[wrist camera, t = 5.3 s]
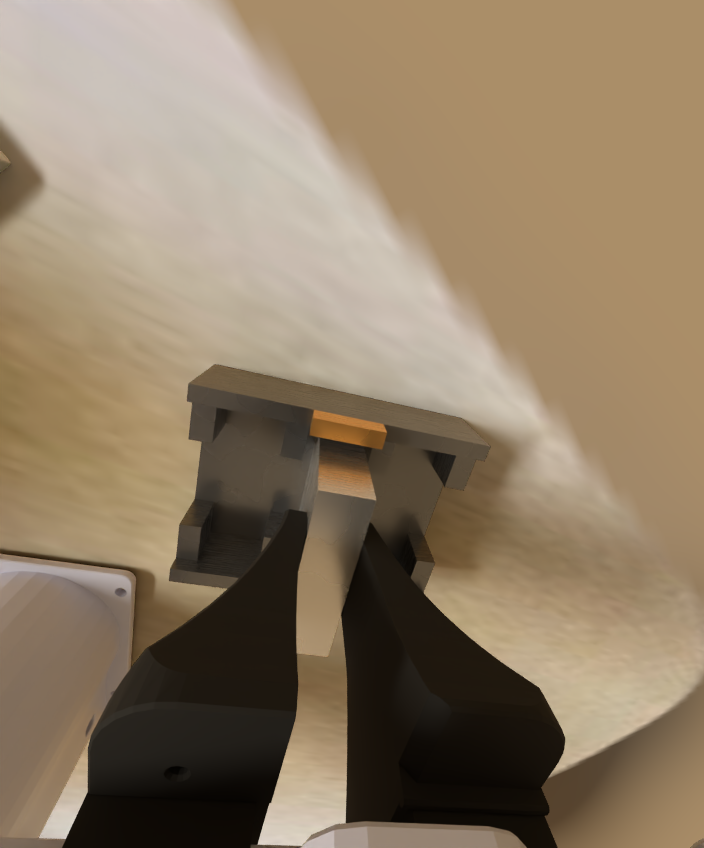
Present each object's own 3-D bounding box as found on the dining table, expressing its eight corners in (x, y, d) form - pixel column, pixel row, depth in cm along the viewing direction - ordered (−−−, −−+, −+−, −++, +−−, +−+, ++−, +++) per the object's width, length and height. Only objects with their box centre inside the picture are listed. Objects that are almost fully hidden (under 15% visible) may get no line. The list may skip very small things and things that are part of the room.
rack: (407, 564, 19) (427, 630, 15) (194, 532, 17) (160, 597, 13) (461, 417, 16) (500, 456, 12) (214, 364, 14) (179, 390, 11)
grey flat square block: (326, 544, 17) (327, 657, 12) (292, 538, 17) (278, 651, 12) (358, 426, 15) (376, 500, 10) (320, 418, 15) (318, 490, 10)
